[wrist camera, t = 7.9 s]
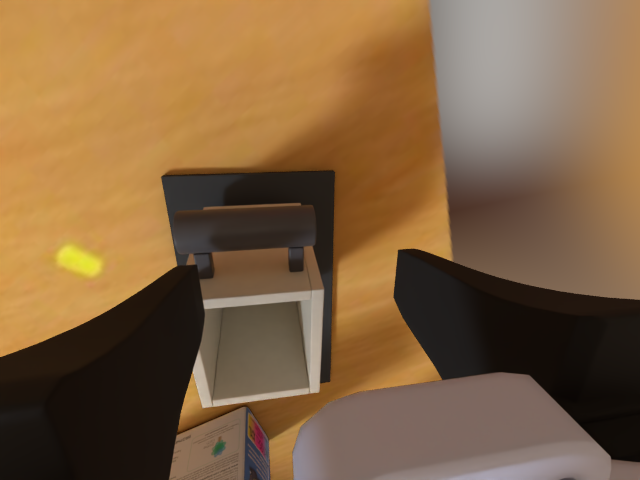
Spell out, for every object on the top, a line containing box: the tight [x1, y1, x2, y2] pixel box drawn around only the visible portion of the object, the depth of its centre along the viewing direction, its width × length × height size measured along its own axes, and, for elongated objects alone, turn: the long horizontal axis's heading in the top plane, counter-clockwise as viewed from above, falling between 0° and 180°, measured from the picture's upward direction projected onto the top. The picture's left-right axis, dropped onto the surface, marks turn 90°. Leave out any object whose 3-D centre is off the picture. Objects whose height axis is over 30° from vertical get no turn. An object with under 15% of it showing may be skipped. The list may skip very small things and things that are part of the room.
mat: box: [161, 171, 335, 383], centre depth 23 cm, size 17×10×1 cm, turn 0°
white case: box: [173, 203, 324, 408], centre depth 16 cm, size 8×6×9 cm
